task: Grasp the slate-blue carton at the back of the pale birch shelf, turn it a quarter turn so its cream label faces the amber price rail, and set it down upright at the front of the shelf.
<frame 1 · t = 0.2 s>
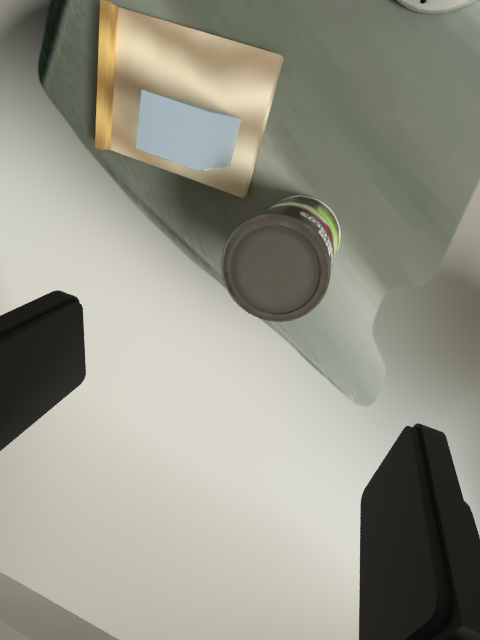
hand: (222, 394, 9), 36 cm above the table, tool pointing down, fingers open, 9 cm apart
coffee can: (298, 236, 43), on the table
carton: (208, 133, 39), point 1 cm above the table, touching shelf
shelf: (186, 108, 40), on the table
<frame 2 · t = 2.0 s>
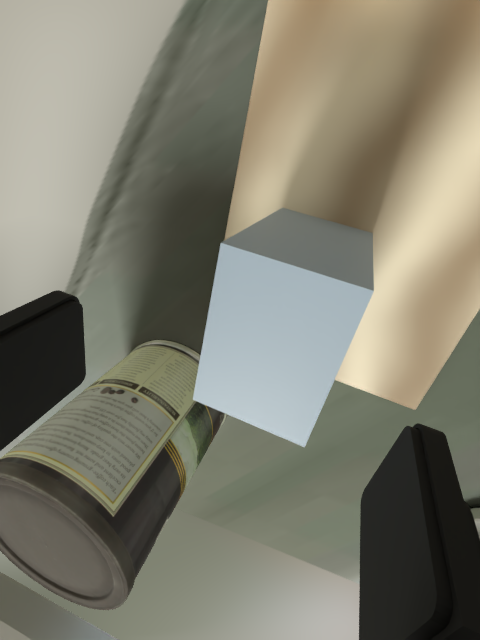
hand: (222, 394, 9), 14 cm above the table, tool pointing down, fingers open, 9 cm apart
coffee can: (176, 388, 30), on the table
carton: (307, 278, 20), point 1 cm above the table, touching shelf
shelf: (361, 215, 19), on the table
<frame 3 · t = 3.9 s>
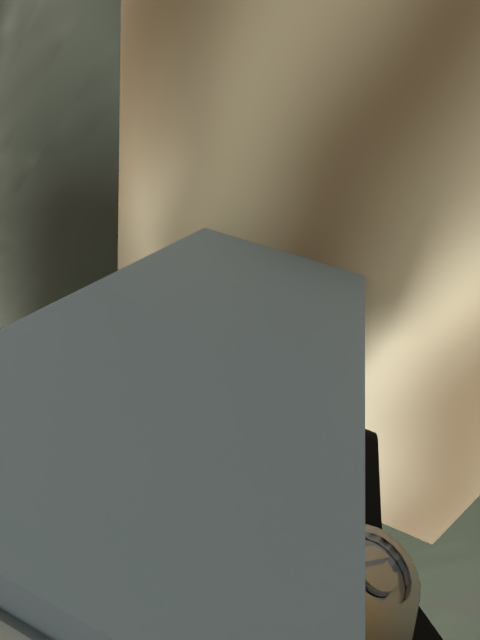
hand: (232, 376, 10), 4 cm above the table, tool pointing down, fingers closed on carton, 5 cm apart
carton: (255, 345, 12), point 2 cm above the table, touching gripper, shelf
shelf: (342, 238, 11), on the table
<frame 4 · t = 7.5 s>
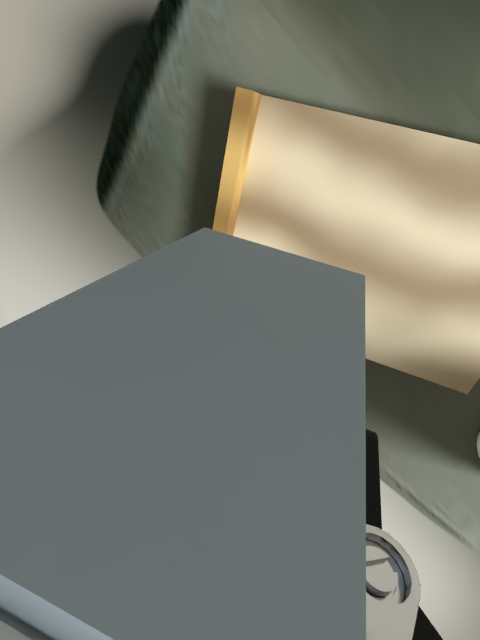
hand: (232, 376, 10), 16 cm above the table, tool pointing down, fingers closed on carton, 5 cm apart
carton: (255, 345, 12), point 14 cm above the table, touching gripper
shelf: (366, 250, 23), on the table
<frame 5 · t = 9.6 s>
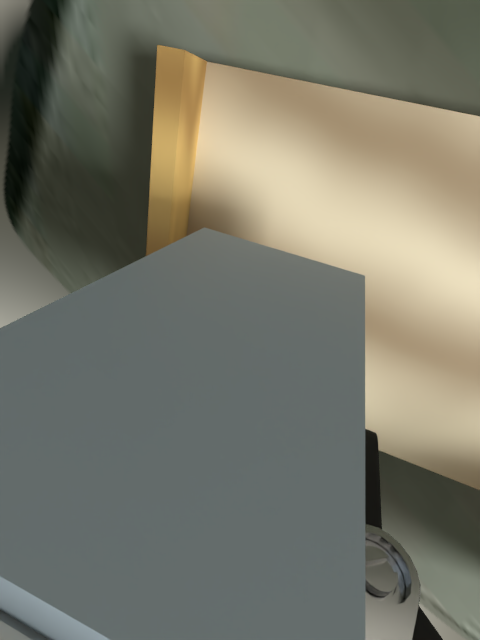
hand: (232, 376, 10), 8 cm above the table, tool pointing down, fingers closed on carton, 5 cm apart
carton: (255, 345, 12), point 6 cm above the table, touching gripper
shelf: (376, 298, 15), on the table
when the fingers open (5 cm above the table, at t = 11.2 s): carton drops 1 cm, resting on shelf.
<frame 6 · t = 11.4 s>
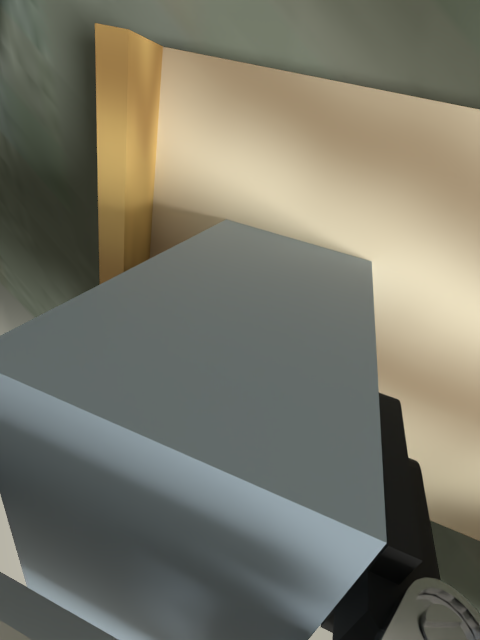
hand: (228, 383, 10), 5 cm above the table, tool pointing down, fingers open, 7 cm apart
carton: (270, 327, 13), point 2 cm above the table, touching shelf
shelf: (371, 326, 13), on the table
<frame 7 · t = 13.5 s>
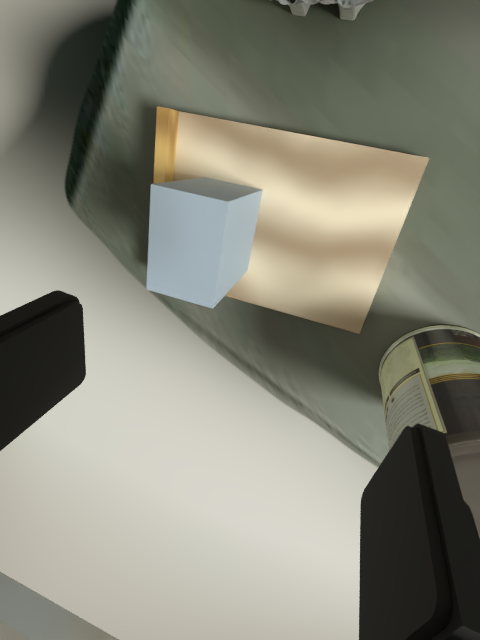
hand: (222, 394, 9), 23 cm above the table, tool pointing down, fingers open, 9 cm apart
coffee can: (436, 372, 31), on the table
carton: (227, 225, 29), point 1 cm above the table, touching shelf
shelf: (272, 225, 30), on the table
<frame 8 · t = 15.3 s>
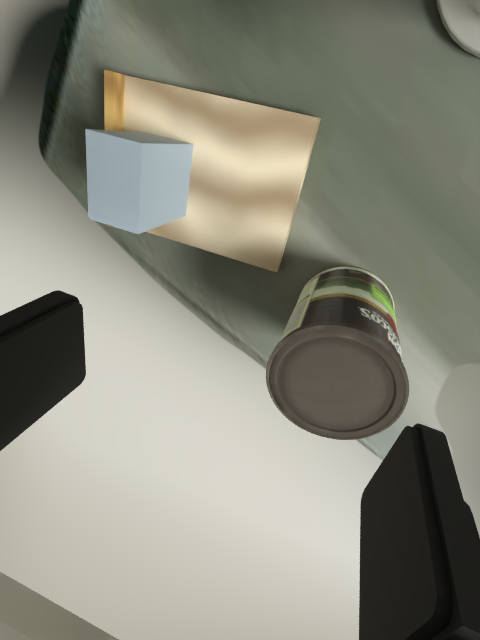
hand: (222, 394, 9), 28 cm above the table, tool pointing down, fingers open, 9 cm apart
coffee can: (343, 309, 37), on the table
carton: (167, 176, 35), point 1 cm above the table, touching shelf
shelf: (206, 177, 35), on the table
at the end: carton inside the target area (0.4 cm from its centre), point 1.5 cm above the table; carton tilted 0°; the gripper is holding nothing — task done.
